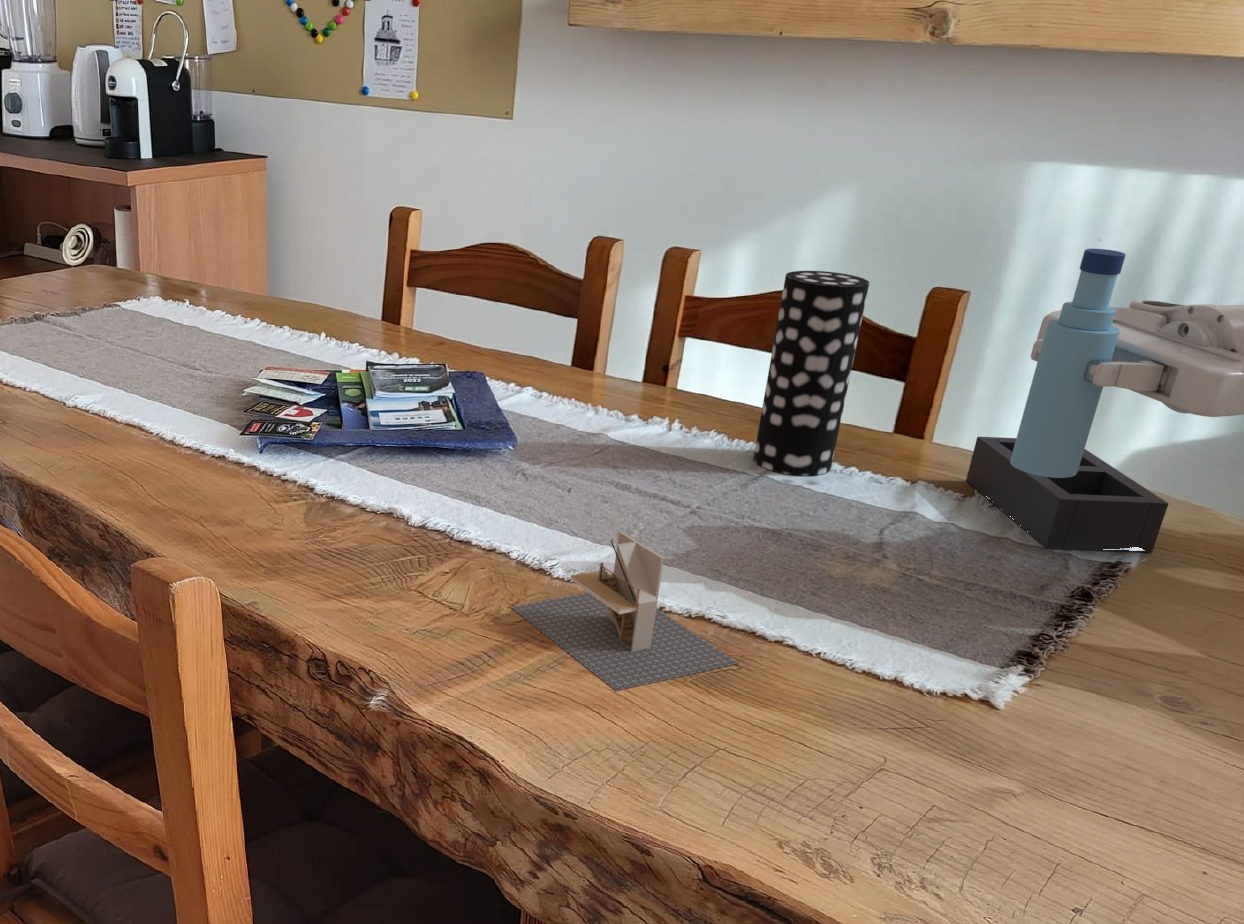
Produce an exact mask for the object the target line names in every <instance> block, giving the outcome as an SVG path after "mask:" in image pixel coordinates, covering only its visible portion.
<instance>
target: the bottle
mask: <svg viewBox="0 0 1244 924" xmlns="http://www.w3.org/2000/svg"><path fill="white" fill-rule="evenodd" d="M1126 255H1127V254H1126V253H1124V252H1122V251H1119V250H1114V249H1113V250H1112V249H1105V248H1086V249H1084V251H1083V255H1082V259H1081V262H1080V265H1079V270H1080V272H1079V277H1078V280H1077V284H1076V287H1075V291H1074V294H1073V298H1072V301H1066V302H1064V303H1063V304H1062V307H1061V314H1060V317H1059V318H1058V319H1052V320H1050V321H1049V322H1048V325H1047V329H1046V333H1045V336H1044V340H1043V344H1042V347H1041V351H1040V355H1039V358H1038V362H1036V366H1035V369H1034V373H1033V377H1032V380H1031V383H1030V387H1029V391H1028V395H1027V399H1026V402H1025V406H1024V409H1023V413H1022V417H1021V420H1020V424H1019V427H1018V430H1017V436H1016V437H1015V438H1016V442H1015V445H1014V449H1013V453H1012V456H1011V460H1010V463H1011V465H1012V466H1013V467H1015V468H1017V469H1019V470H1021V471H1024V472H1027V473H1030V474H1034V475H1038V476H1044V477H1052V478H1068V477H1073V476H1075V475H1076V474H1077V472H1078V468H1079V465H1080V462H1081V459H1082V455H1083V452H1084V449H1086V445H1087V442H1088V438H1089V436H1090V432H1091V430H1092V429H1091V428H1092V426H1093V422H1094V419H1095V415H1096V412H1097V408H1098V405H1099V401H1100V398H1101V395H1102V392H1103V388H1104V387H1099V386H1097V385H1094V384H1091V383H1089V382H1087V381H1086V380H1084V376H1085V373H1086V372H1087V366H1088V363H1089V362H1090V361H1092V360H1107V359H1108V360H1111V359H1112V356H1113V352H1114V349H1115V346H1116V342H1117V339H1118V336H1119V333H1120V330H1119V329H1118V328H1116V327H1114V326H1112V322H1113V319H1114V315H1115V312H1116V310H1115V309H1114V308H1112V307H1113V306H1110V302H1111V298H1112V295H1113V292H1114V288H1115V285H1116V282H1117V279H1118V276H1119V275H1120V274H1121V273H1122V269H1123V266H1124V263H1125V258H1126Z"/></svg>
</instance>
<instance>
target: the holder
mask: <svg viewBox="0 0 1244 924" xmlns="http://www.w3.org/2000/svg"><path fill="white" fill-rule="evenodd" d="M1016 438H1017V437H999V436H998V437H996V436H977V437H976V440H975V444H974V449H973V452H972V456H971V460H970V463H969V466H968V471H967V475H966V479H965V482H967V484H969V485H970V486H971V487H972V488H973V489H975V490H976V491H977V492H978V493H979V494H981V495H982V496H983V498H986V499H987V500H988V501H989V502H990V503H992V504H993V505H994V506H995V508H997V509H999V511H1001V512H1002V513H1003V514H1004V515H1006V516H1007V517H1008V518H1009V519H1010V520H1012V521H1013V522H1014V523H1015V524H1016V525H1017V526H1019V527H1020V528H1021V529H1022V530H1023V531H1024V532H1026V533H1027V534H1028V535H1029V536H1031V538H1033V539H1034V540H1035V541H1036V542H1038V543H1039V544H1040V545H1041V546H1043V547H1044V548H1045V549H1048V550H1052V549H1053V550H1073V551H1075V550H1080V551H1102V552H1103V551H1104V552H1127V553H1150V554H1151V553H1153V550H1154V549H1155V545H1156V542H1157V539H1158V536H1159V533H1160V530H1161V527H1162V524H1163V521H1164V518H1165V516H1166V513H1167V510H1168V507H1169V503H1168V502H1167V501H1166V500H1164V499H1163V498H1161V497H1159V496H1158V495H1157V494H1155V493H1154V492H1152V491H1150V490H1149V489H1148V488H1146V487H1144V486H1143V485H1141V484H1140V483H1138V482H1136V481H1135V480H1134V479H1132V478H1130V476H1127V475H1126V474H1124V473H1123V472H1121V471H1120V470H1118V469H1117V468H1115V467H1114V466H1112V465H1111V464H1109V463H1108V462H1106V461H1104V460H1103V459H1101V458H1099V456H1097V455H1095V454H1094V453H1092V452H1090V451H1089V450H1087V449H1086V448H1085V449H1084V452H1083V455H1082V459H1081V462H1080V465H1079V468H1078V472H1077V474H1076V475H1075V476H1073V477H1068V478H1052V477H1044V476H1038V475H1034V474H1030V473H1027V472H1024V471H1021V470H1019V469H1017V468H1015V467H1013V466H1012V465H1011V463H1010V460H1011V456H1012V453H1013V449H1014V445H1015V442H1016ZM986 496H987V497H988V498H990V499H988V498H987V497H986ZM992 501H993V502H992ZM1001 509H1002V510H1001ZM1010 516H1011V517H1010ZM1012 518H1013V519H1014V520H1015V521H1014V520H1013V519H1012ZM1020 525H1021V526H1020ZM1027 531H1028V532H1027ZM1130 547H1131V548H1132V547H1139V548H1142V549H1143V550H1145V551H1129V550H1103V549H1120V548H1122V549H1123V548H1130Z"/></svg>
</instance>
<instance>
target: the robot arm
mask: <svg viewBox="0 0 1244 924" xmlns="http://www.w3.org/2000/svg"><path fill="white" fill-rule="evenodd" d="M1111 307H1112V308H1114V309H1115V310H1116V312H1115V315H1114V319H1113V322H1112V326H1114V327H1116V328H1118V329H1119V330H1120V333H1119V336H1118V339H1117V342H1116V346H1115V349H1114V352H1113V356H1112V359H1111V360H1108V359H1107V360H1092V361H1090V362H1089V363H1088V366H1087V372H1086V373H1085V376H1084V380H1086V381H1087V382H1089V383H1091V384H1094V385H1097V386H1099V387H1103V388H1104V387H1107V388H1108V387H1116V388H1120V389H1125V390H1129V391H1132V392H1134V393H1137V394H1139V395H1142V396H1145V397H1147V398H1149V399H1152V400H1155V401H1158V402H1160V403H1162V404H1163V405H1164V406H1166V407H1167V408H1168V409H1170V410H1172V411H1174V412H1176V413H1181V414H1191V415H1193V416H1199V417H1208V418H1222V417H1233V416H1241V415H1242V416H1243V415H1244V304H1179V303H1171V302H1165V301H1159V300H1158V301H1157V300H1150V299H1149V300H1148V299H1135V300H1132V301H1130V303H1129V304H1128V307H1125V306H1124V307H1123V306H1111ZM1061 310H1062V309H1061ZM1061 310H1054V311H1051V312H1050V313H1048V314H1046V315H1045V316H1044V317H1043V318H1042V320H1041V323H1040V327H1039V329H1038V334H1037V337H1036V341H1034V343H1033V345H1032V350H1031V353H1030V359H1031V360H1032V361H1034V362H1036V363H1037V362H1038V358H1039V355H1040V351H1041V347H1042V344H1043V340H1044V336H1045V333H1046V329H1047V325H1048V322H1049V321H1050V320H1052V319H1058V318H1059V317H1060V314H1061Z"/></svg>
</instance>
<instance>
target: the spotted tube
mask: <svg viewBox="0 0 1244 924" xmlns="http://www.w3.org/2000/svg"><path fill="white" fill-rule="evenodd" d="M869 287H870V281H869V280H867V279H866V278H864V277H860V276H856V275H852V274H847V273H842V272H834V271H824V270H795V271H789V272H787V273H785V278H784V282H783V289H782V295H781V300H780V306H779V312H778V316H777V323H776V327H775V333H774V339H773V344H772V351H771V356H770V362H769V368H768V374H767V380H766V384H765V389H764V396H763V402H762V408H761V413H760V419H759V424H758V430H757V435H756V441H755V446H754V453H753V458H752V459H753V462H754V463H756V464H757V465H758V466H759V467H761V468H764V469H765V470H769V471H772V472H775V473H780V474H786V475H791V476H803V477H805V476H807V477H808V476H809V477H810V476H820V475H824V474H827V473H828V472H830V471H831V469H832V466H833V460H834V456H835V451H836V446H837V441H838V437H839V432H840V426H841V422H842V418H843V412H844V408H845V403H846V398H847V393H848V389H849V384H850V379H851V375H852V374H851V373H852V369H853V364H854V360H855V355H856V350H857V345H858V340H859V336H860V331H861V325H862V322H863V316H864V311H865V306H866V301H867V296H868V293H869V292H868V291H869Z"/></svg>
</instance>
